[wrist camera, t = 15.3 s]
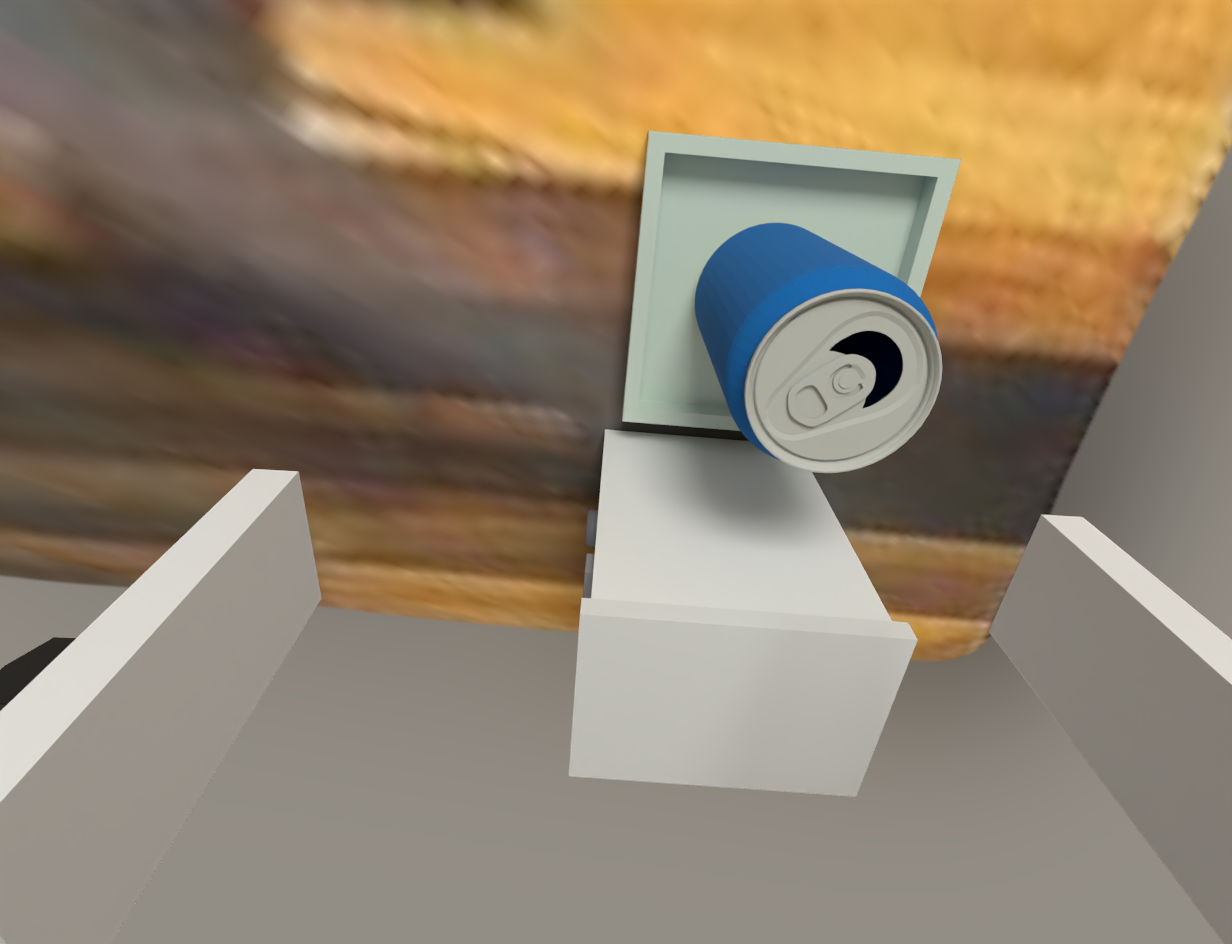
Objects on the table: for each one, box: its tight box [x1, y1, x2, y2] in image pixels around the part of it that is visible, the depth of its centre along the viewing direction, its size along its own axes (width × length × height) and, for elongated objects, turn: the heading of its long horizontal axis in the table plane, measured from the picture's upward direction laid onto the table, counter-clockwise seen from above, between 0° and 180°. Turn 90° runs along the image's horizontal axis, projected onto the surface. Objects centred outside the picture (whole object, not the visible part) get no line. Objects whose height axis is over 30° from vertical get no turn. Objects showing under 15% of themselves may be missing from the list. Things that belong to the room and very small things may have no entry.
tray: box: [622, 131, 961, 431], centre depth 29 cm, size 12×12×2 cm
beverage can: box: [695, 223, 942, 473], centre depth 24 cm, size 6×6×12 cm
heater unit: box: [569, 429, 917, 797], centre depth 28 cm, size 11×8×15 cm
